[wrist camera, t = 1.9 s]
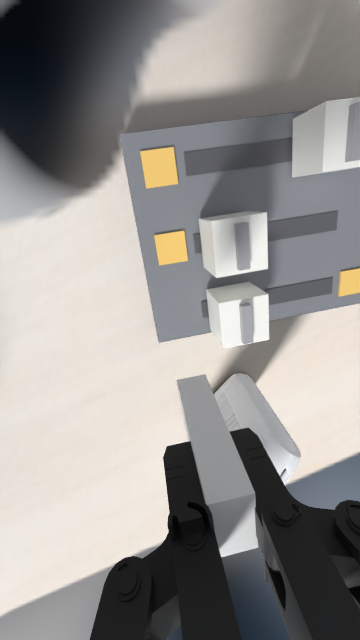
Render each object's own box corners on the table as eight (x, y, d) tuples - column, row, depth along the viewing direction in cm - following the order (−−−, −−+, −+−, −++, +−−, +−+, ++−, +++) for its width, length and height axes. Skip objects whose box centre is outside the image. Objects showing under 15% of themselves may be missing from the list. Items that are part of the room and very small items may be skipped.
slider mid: (203, 267, 25) (218, 280, 20) (198, 218, 23) (213, 221, 19) (247, 259, 25) (271, 270, 21) (245, 211, 23) (270, 212, 19)
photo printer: (207, 440, 37) (242, 545, 25) (181, 427, 35) (205, 532, 24) (260, 381, 34) (323, 467, 23) (234, 365, 33) (288, 449, 22)
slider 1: (210, 329, 27) (224, 352, 23) (206, 289, 25) (220, 306, 21) (250, 321, 27) (272, 342, 23) (248, 281, 26) (272, 296, 22)
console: (156, 330, 30) (159, 343, 27) (120, 142, 23) (119, 133, 20) (350, 292, 32) (372, 301, 29) (368, 110, 25) (399, 98, 22)
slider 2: (291, 177, 23) (328, 171, 19) (292, 119, 21) (332, 97, 17) (337, 170, 23) (383, 162, 19) (341, 112, 22) (392, 90, 18)
